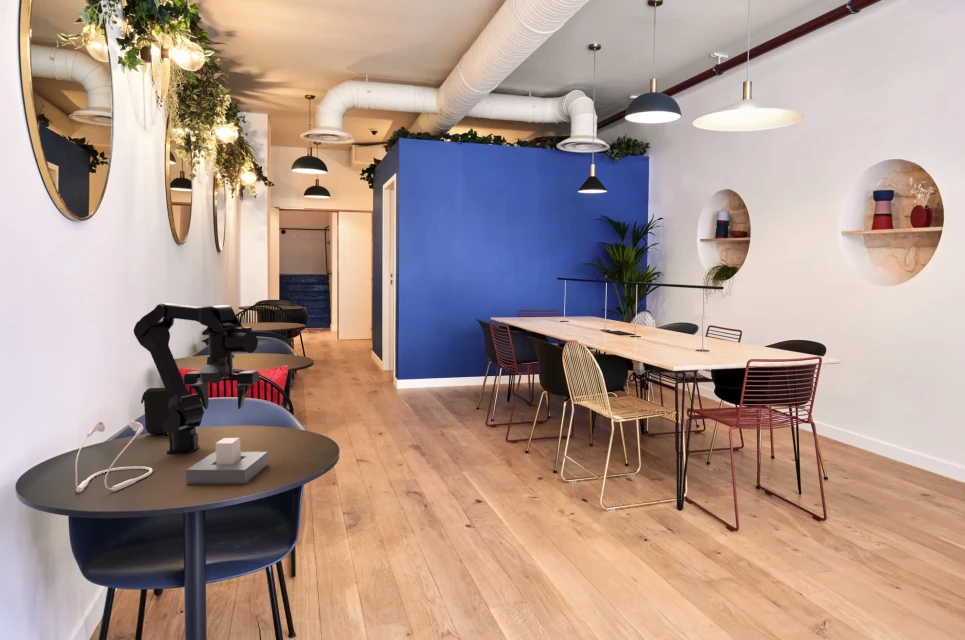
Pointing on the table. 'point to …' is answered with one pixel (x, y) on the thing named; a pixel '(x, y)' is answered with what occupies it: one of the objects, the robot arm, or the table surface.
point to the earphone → (100, 427)
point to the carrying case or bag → (155, 409)
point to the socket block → (227, 469)
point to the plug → (228, 451)
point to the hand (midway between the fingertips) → (223, 408)
